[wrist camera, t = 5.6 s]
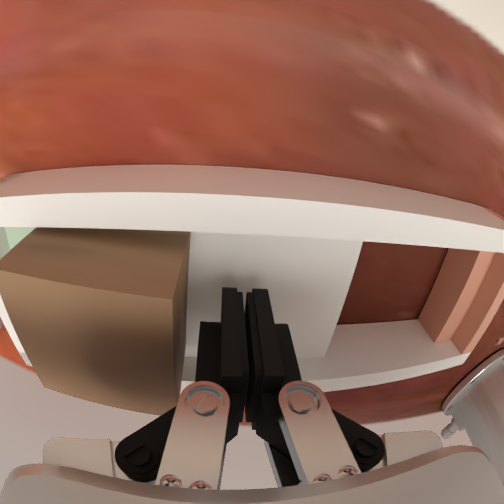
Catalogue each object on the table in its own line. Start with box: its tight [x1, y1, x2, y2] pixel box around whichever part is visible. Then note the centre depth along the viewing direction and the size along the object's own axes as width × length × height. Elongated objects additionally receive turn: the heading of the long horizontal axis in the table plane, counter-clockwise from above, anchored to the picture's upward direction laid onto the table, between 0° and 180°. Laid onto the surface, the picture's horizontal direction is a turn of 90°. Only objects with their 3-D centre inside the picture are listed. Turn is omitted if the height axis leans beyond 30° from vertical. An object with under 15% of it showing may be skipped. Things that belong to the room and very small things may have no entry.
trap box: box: [0, 165, 504, 394], centre depth 12 cm, size 10×28×4 cm, turn 85°
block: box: [0, 227, 191, 416], centre depth 9 cm, size 6×6×4 cm
